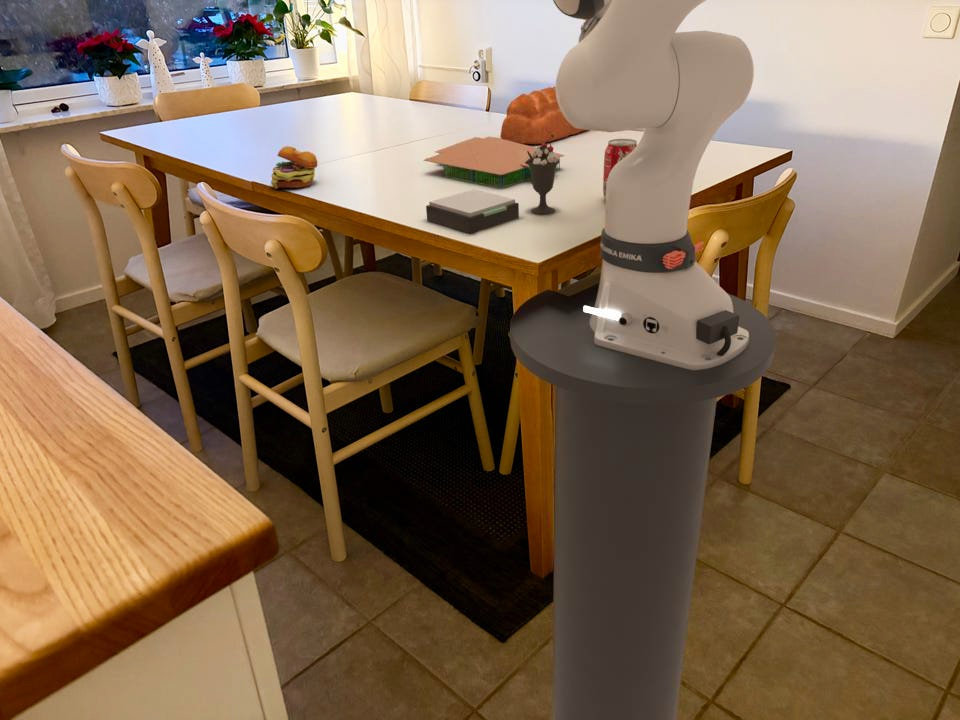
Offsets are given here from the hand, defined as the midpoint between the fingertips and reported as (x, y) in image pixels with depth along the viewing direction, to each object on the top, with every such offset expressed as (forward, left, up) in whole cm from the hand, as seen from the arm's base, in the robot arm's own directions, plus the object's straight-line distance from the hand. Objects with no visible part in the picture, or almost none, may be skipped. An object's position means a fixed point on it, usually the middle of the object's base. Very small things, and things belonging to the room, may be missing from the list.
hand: (625, 67), depth 138 cm
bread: (+62, -46, -27) cm, 82 cm away
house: (+43, -5, -27) cm, 51 cm away
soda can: (+3, -4, -27) cm, 27 cm away
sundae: (+10, +12, -27) cm, 31 cm away
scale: (+17, +25, -27) cm, 40 cm away
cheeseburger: (+71, +34, -27) cm, 83 cm away
